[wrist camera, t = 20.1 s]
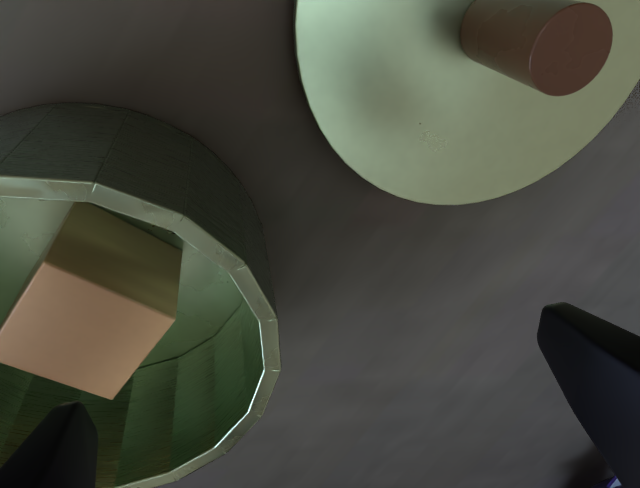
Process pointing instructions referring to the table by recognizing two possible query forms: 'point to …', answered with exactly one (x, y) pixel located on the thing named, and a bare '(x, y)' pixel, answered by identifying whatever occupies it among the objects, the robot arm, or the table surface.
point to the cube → (93, 303)
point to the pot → (193, 297)
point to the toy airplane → (608, 483)
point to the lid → (463, 87)
